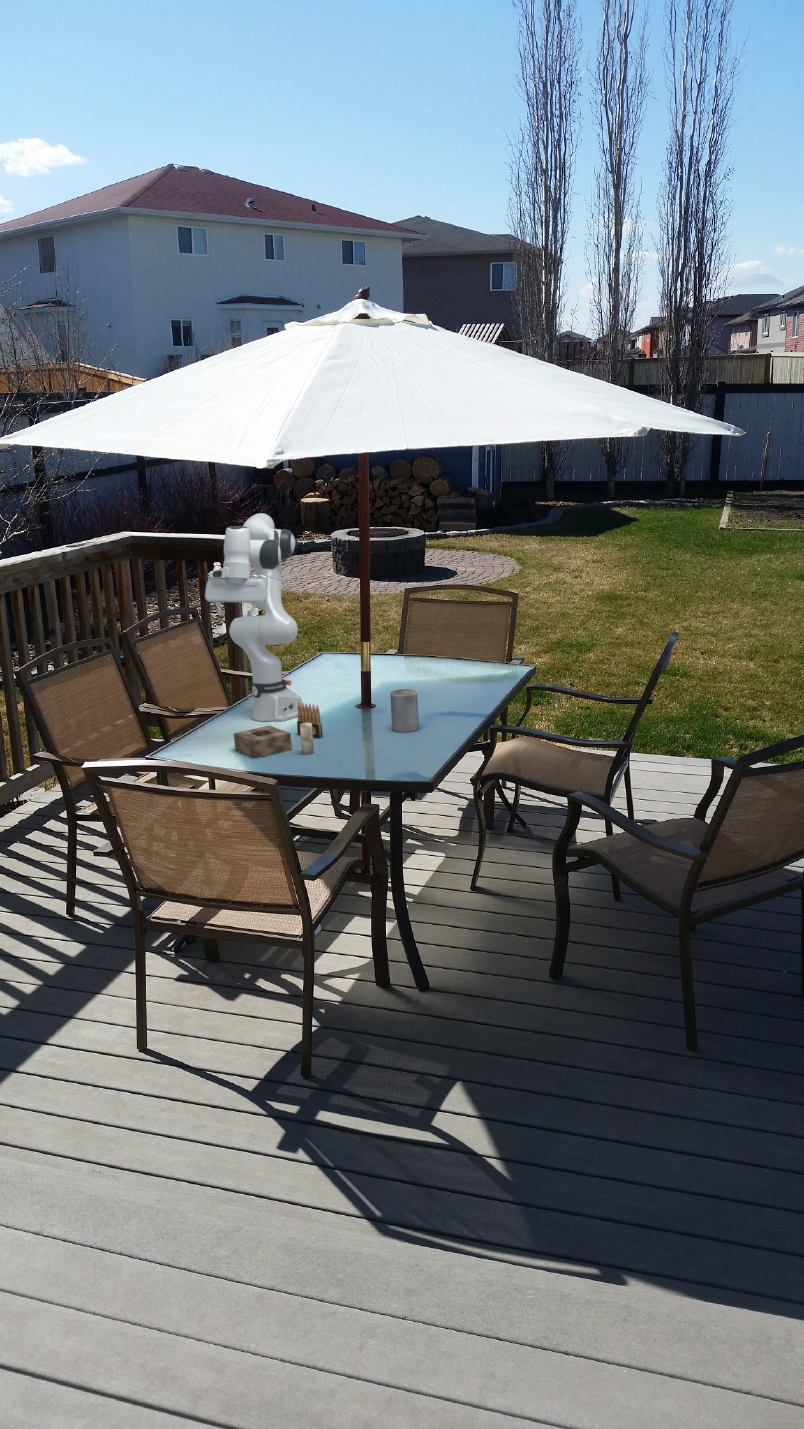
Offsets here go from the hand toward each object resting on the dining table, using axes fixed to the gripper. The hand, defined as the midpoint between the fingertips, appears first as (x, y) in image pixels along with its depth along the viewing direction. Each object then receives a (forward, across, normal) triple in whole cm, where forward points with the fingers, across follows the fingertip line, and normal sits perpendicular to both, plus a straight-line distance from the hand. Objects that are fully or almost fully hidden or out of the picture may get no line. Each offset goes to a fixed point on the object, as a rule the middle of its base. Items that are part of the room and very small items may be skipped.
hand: (235, 616), depth 354 cm
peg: (+45, -25, -5) cm, 52 cm away
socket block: (+45, -9, -11) cm, 47 cm away
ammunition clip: (+40, -24, -25) cm, 53 cm away
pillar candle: (+37, -58, -28) cm, 74 cm away
